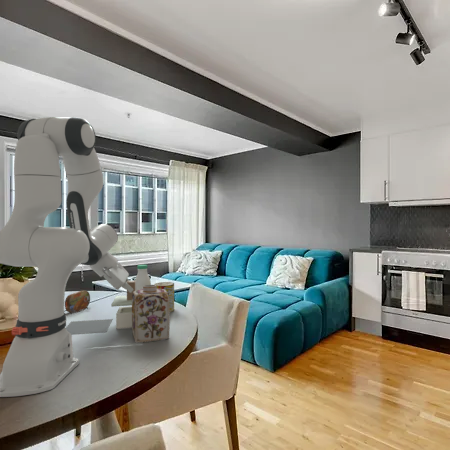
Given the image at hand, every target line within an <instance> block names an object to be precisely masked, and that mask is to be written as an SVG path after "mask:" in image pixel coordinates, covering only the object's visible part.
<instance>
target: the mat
mask: <svg viewBox="0 0 450 450" xmlns="http://www.w3.org/2000/svg"><path fill="white" fill-rule="evenodd" d="M112 321H113V318H110V319H109V318H108V319H107V318H105V319H94V320H93V319H92V320H77V321H74V320H73V321H70V323H68V324H67V325H66V327H65V328H66V330H67V331H68V332H69V333H70V334H71V335H72V336H73V335H86V334H89V335H90V334H100V333H103V334H104V333H107V332H108V330H109V328H110V327H111V324H112Z"/></svg>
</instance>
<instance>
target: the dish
mask: <svg viewBox="0 0 450 450" xmlns="http://www.w3.org/2000/svg"><path fill="white" fill-rule="evenodd" d="M118 307H119V308H118V309H117V311H116V313H115V321H116V323H115V324H116V325H115V328H116V330H121V329H132V306H118Z"/></svg>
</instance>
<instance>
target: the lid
mask: <svg viewBox="0 0 450 450" xmlns="http://www.w3.org/2000/svg"><path fill="white" fill-rule="evenodd" d="M127 284H128V285H130V286H131V287H132V288H133V289H134V290H133V291H132V292H131V293H130V292H129V291H127V290H126V295H116V296H115V298H114V299H113V300H112V303H111V307H112V308H113V307H129V306H132V295H133V292H134V291H135V280H130V281H127Z"/></svg>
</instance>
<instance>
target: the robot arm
mask: <svg viewBox="0 0 450 450" xmlns="http://www.w3.org/2000/svg"><path fill="white" fill-rule="evenodd" d="M16 135H17V142H16V145H15V146H16V147H15V152H14V160H13V179H14V182H13V183H14V201H13V202H14V203H13V209H12V212H11V214H10V217H9V219H8V221H7V222H6V224H5V225H4V226H3V227H2V228H1V229H0V264H2V265H5V266H12V267H17V268H18V267H19V268H20V267H21V268H22V267H23V268H24V267H28V268H29V267H30V268H31V267H32V268H34V267H35V268H36V267H37V274H36V276H35V278H34V279H32V280H30V281H28V282H27V283H26V284H25V283H24V285H23V286H22V287H21V288H20V290H19V292H18V297H17V299H18V305H17V306H18V313H17V315H18V318H17V319H16V323H15V326H14V327H12V329H11V335H12V336H14V338H13V340H12V342H11V344H10V347H9V349H8V351H7V354H6V356H5V359H4V362H3V364H2V369H1V370H2V371H1V372H0V398H7V397H8V398H9V397H21V396H29V395H34V394H39V393H40V394H41V393H44V392H48V391H50V390H53V389H54V388H56V386H57V385H59V384H60V382H62V381H63V380H64V379H65V377H67V376H68V375H69V374H70V373H71V372H72V371H73V370H74V369H75V368H76V367H77V366H78V365H79V364H80V360H79V359H78V358H75V357H74V351H73V349H74V348H73V335H71V334H70V333H69V332H68V331H67V330H66V327H67V316H66V315H67V314H66V312H65V298H66V297H65V295H66V294H65V293H66V286H67V282H68V280H69V278H70V276H71V274H72V273H73V272H74V270H75V269H76V268H77V267H78V266H80V265H83V266H89V268H90V269H91V270H92V271H93V272H95V273H96V274H97V275H98V276H99V277H100V278H102V277H103V278H104V279H105V280H106V281H107V282H108V283H109V284H110V285H111V286H112V287H113V288H114V289H115V290H120V289H121V288H123V290H126V292H127V291H129V292H130V293H131V292H132V291H133V290H134V289H133V288H132V287H131V286H130V285H128V284H127V281H131V280H130V279H128V278H129V276H130V274H129V272H128V271H127V269H125V268H124V266H123V265H122V264H121V263H120V262H119V259H118V258H117V257H115V256H114V255H113V254H112V253H111V252H109V251H110V250H111V249H112V248H113V247H114V246H115V244H117V242H118V240H119V236H118V232H117V230H116V229H115V228H114V227H113V226H111V225H110V224H108V223H101V224H98V225H95V226H94V227H92V228H91V227H90V226H91V225H90V221H89V212H90V211H89V210H90V208H91V205H92V203H93V202H94V201H95V199H96V198H97V196H98V195H99V194H100V192H101V191H102V189H103V187H104V175H103V170H102V166H101V163H100V160H99V157H98V154H97V151H96V149H95V145H96V140H97V138H96V136H97V135H96V132H95V129H94V126H92V124H90V122H89V121H88V120H87V119H85V118H82V117H77V116H75V117H74V116H72V117H56V116H48V117H41V118H32V119H28V120H25V121H23V122H22V123H21V124H20V125H19V126H18V129H17V134H16ZM59 157H62V161H63V163H62V164H63V167H64V171H65V174H66V180H67V195H66V201H65V202H66V204H65V205H66V213H67V218H68V224H69V227H65V226H45V221H46V218H47V217H48V215H49V214H51V213H53V212H55V211H57V210H58V209H59V207H61V204H62V202H63V198H62V197H63V196H62V175H61V174H62V173H61V165H60V164H61V163H60V159H59Z"/></svg>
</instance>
